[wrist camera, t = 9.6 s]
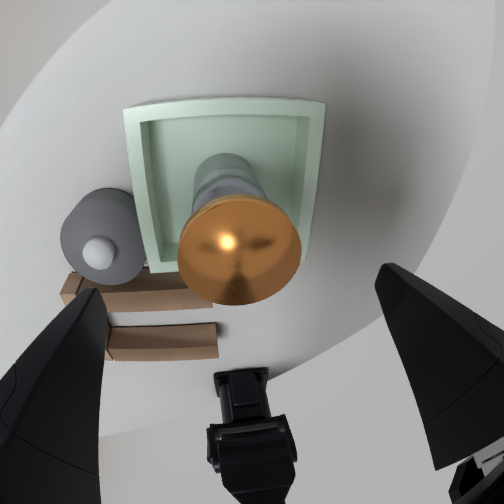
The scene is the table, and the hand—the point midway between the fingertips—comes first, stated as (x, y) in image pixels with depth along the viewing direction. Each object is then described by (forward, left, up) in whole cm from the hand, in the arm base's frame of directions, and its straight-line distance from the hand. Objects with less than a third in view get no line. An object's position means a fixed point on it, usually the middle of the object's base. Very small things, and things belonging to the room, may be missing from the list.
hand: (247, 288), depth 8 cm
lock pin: (0, 0, -10) cm, 10 cm away
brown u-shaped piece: (-11, +7, -10) cm, 17 cm away
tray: (0, 0, -10) cm, 10 cm away
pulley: (-3, +8, -10) cm, 13 cm away
